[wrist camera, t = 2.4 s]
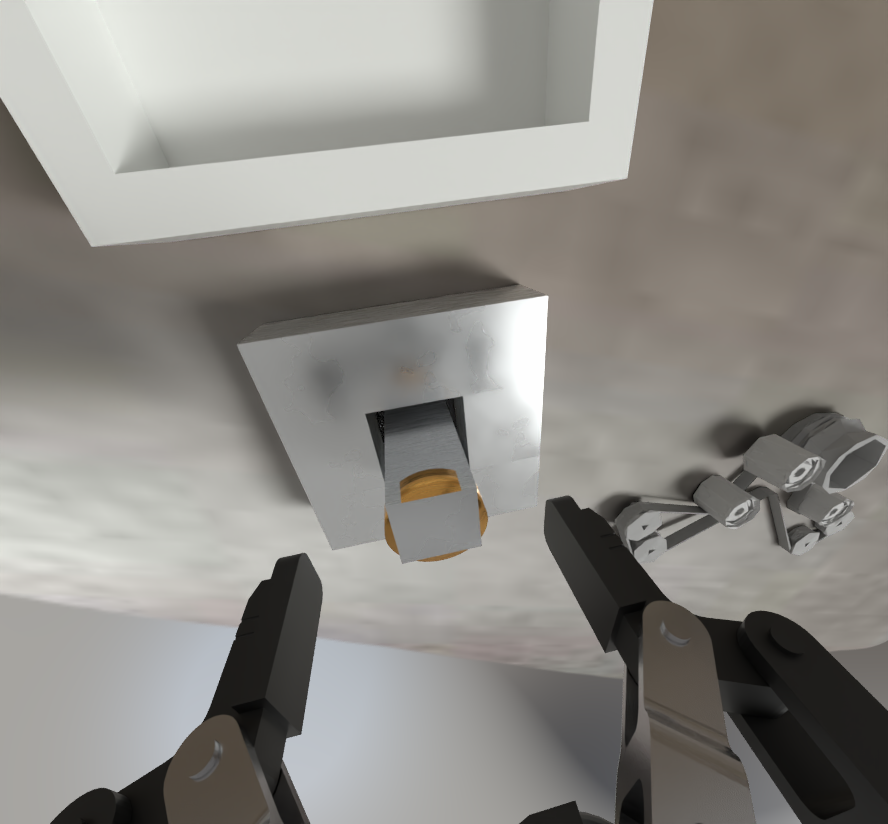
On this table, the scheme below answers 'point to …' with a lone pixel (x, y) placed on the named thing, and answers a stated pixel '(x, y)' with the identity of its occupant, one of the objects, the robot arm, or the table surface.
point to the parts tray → (316, 106)
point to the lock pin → (429, 486)
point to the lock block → (405, 396)
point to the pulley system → (783, 465)
